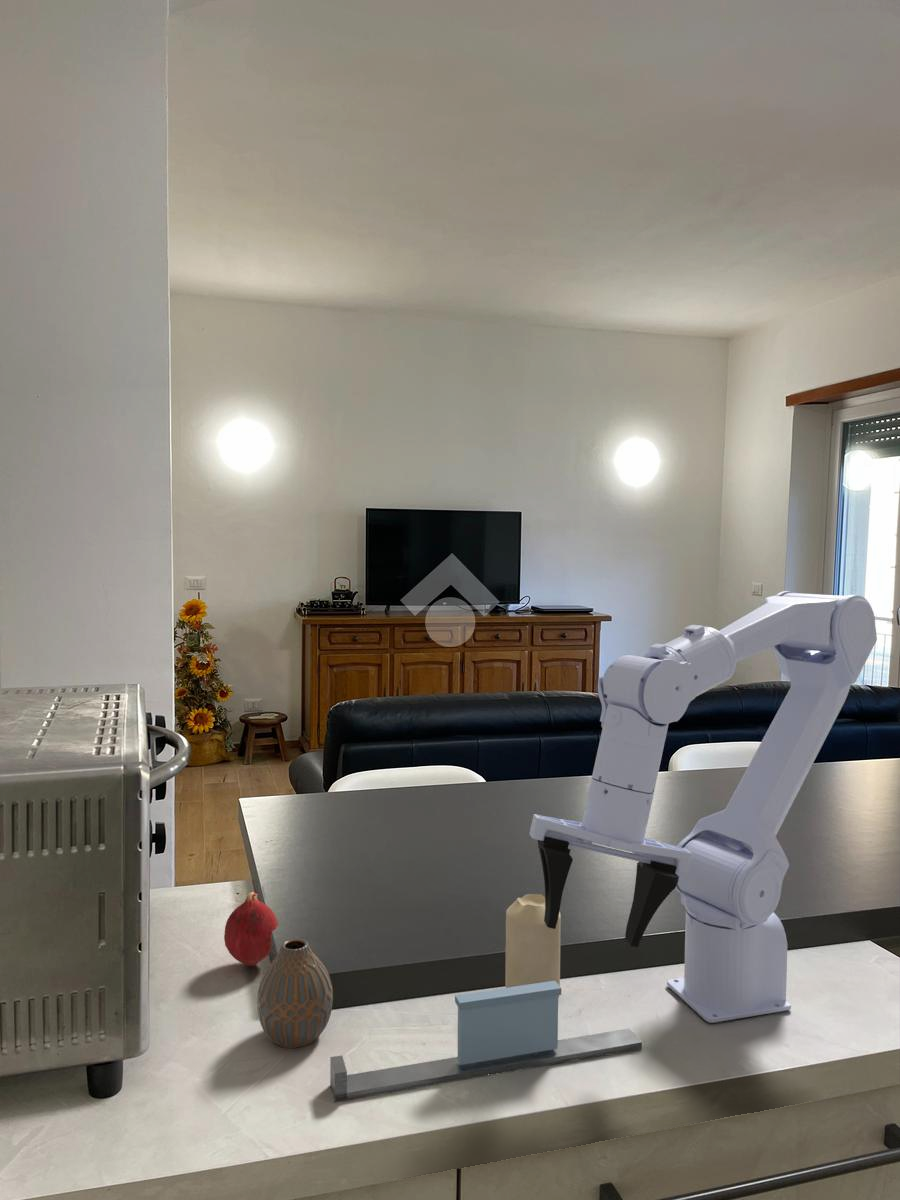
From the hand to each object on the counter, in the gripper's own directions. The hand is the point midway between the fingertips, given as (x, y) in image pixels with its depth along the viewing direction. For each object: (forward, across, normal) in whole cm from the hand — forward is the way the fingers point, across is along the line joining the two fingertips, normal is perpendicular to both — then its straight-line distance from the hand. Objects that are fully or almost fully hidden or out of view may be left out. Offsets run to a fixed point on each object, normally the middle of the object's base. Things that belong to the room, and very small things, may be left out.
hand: (590, 934), depth 79 cm
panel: (+12, -5, -1) cm, 13 cm away
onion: (+16, -30, +18) cm, 39 cm away
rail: (+13, -6, -1) cm, 14 cm away
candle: (+10, -1, +11) cm, 15 cm away
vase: (+16, -24, +4) cm, 29 cm away
